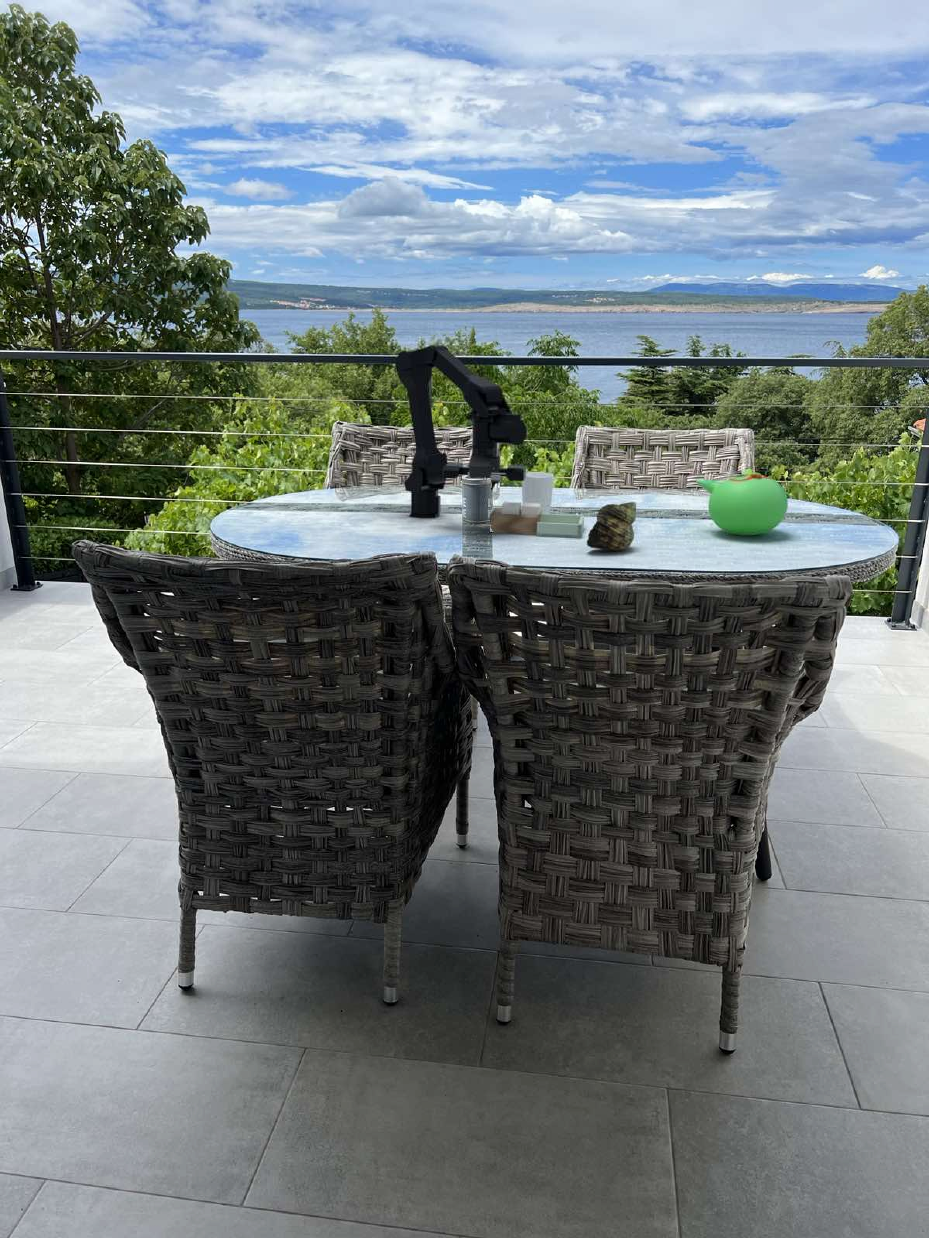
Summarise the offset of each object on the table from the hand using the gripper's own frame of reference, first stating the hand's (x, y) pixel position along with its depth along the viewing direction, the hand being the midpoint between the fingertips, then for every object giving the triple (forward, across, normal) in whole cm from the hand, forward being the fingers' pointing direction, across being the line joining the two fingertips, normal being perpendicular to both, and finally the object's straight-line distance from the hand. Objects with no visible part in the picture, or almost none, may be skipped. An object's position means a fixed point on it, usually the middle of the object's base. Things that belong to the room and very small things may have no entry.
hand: (483, 509), depth 229 cm
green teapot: (+5, +60, +7) cm, 60 cm away
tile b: (+1, +11, 0) cm, 11 cm away
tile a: (0, +6, 0) cm, 7 cm away
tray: (+5, +18, 0) cm, 19 cm away
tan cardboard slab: (+5, +8, 0) cm, 9 cm away
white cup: (+5, +10, +19) cm, 22 cm away
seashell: (+5, +30, -15) cm, 33 cm away
